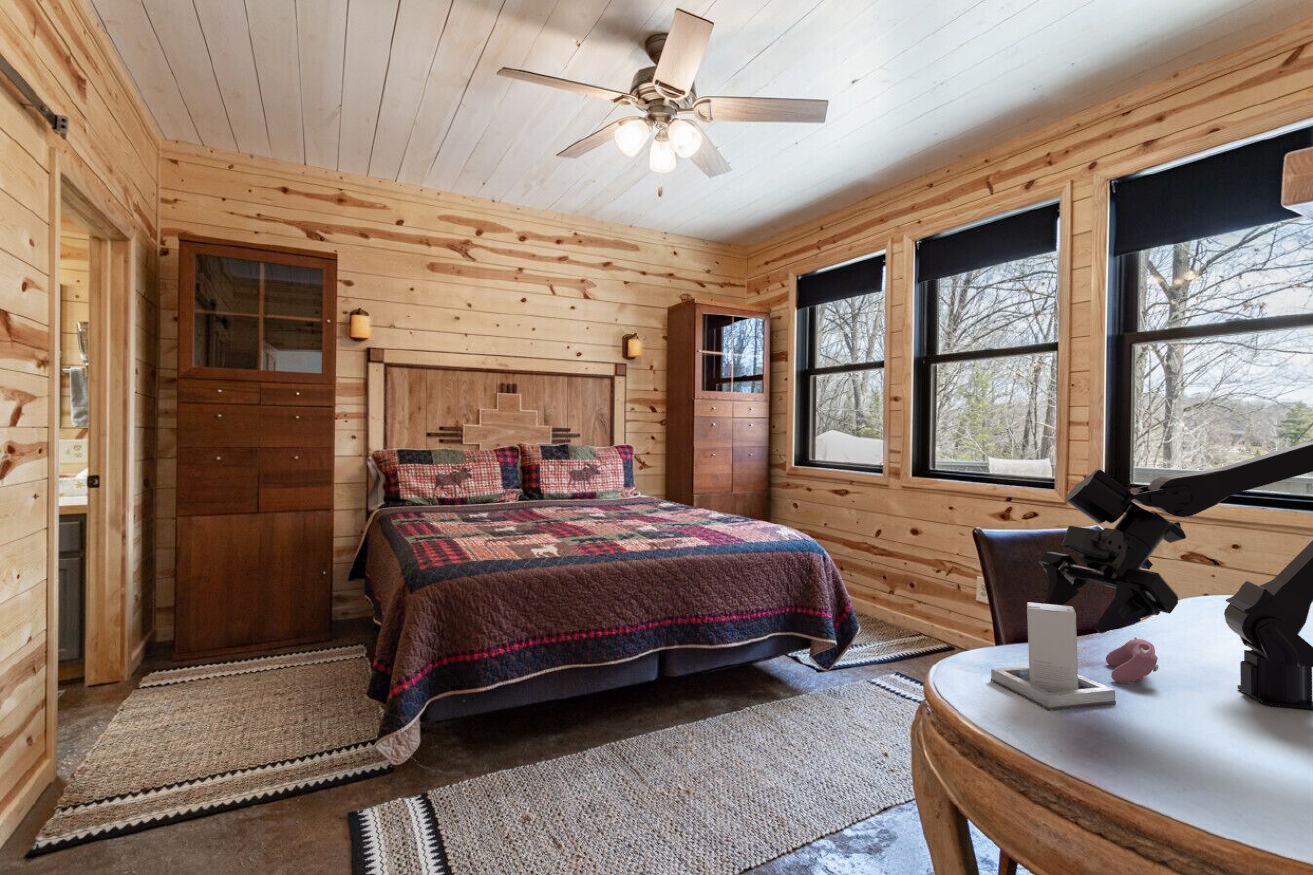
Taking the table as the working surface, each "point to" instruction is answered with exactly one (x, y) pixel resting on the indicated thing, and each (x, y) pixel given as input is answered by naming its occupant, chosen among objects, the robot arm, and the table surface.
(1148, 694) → the table surface
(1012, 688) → the collar
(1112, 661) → the video game controller
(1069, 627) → the skincare box
